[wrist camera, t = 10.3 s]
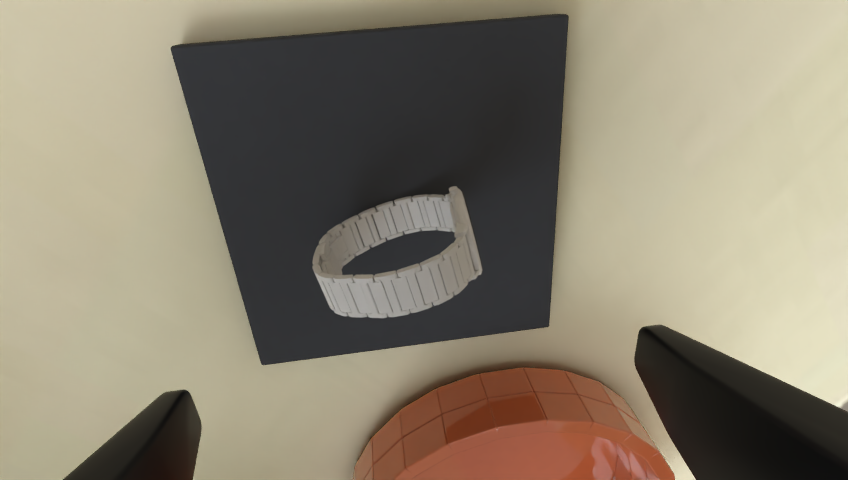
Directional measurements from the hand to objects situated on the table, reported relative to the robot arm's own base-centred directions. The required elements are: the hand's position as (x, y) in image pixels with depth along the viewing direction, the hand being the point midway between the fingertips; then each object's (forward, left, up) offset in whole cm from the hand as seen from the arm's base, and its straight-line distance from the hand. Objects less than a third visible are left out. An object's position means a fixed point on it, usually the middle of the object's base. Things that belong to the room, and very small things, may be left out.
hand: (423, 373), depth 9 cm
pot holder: (0, 0, -9) cm, 9 cm away
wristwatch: (0, 0, -8) cm, 9 cm away
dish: (-16, -4, -9) cm, 19 cm away
